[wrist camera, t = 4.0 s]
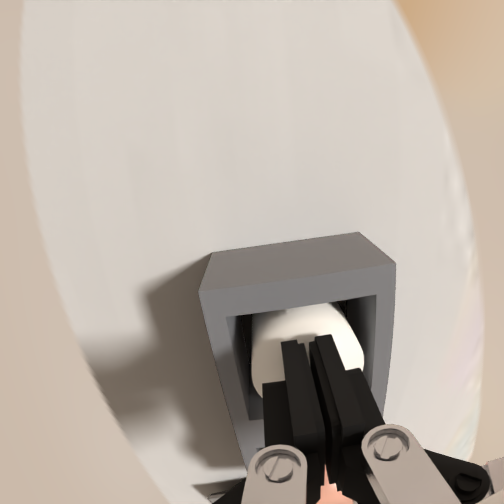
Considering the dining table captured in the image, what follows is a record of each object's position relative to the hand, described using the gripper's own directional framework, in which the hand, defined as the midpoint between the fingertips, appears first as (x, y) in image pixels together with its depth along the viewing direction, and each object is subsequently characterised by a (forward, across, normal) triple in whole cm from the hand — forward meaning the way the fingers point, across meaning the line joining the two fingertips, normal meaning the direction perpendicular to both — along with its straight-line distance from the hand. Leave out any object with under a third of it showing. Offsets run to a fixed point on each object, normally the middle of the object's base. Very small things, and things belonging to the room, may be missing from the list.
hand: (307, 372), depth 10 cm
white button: (+4, 0, 0) cm, 4 cm away
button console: (+5, 0, +4) cm, 6 cm away
